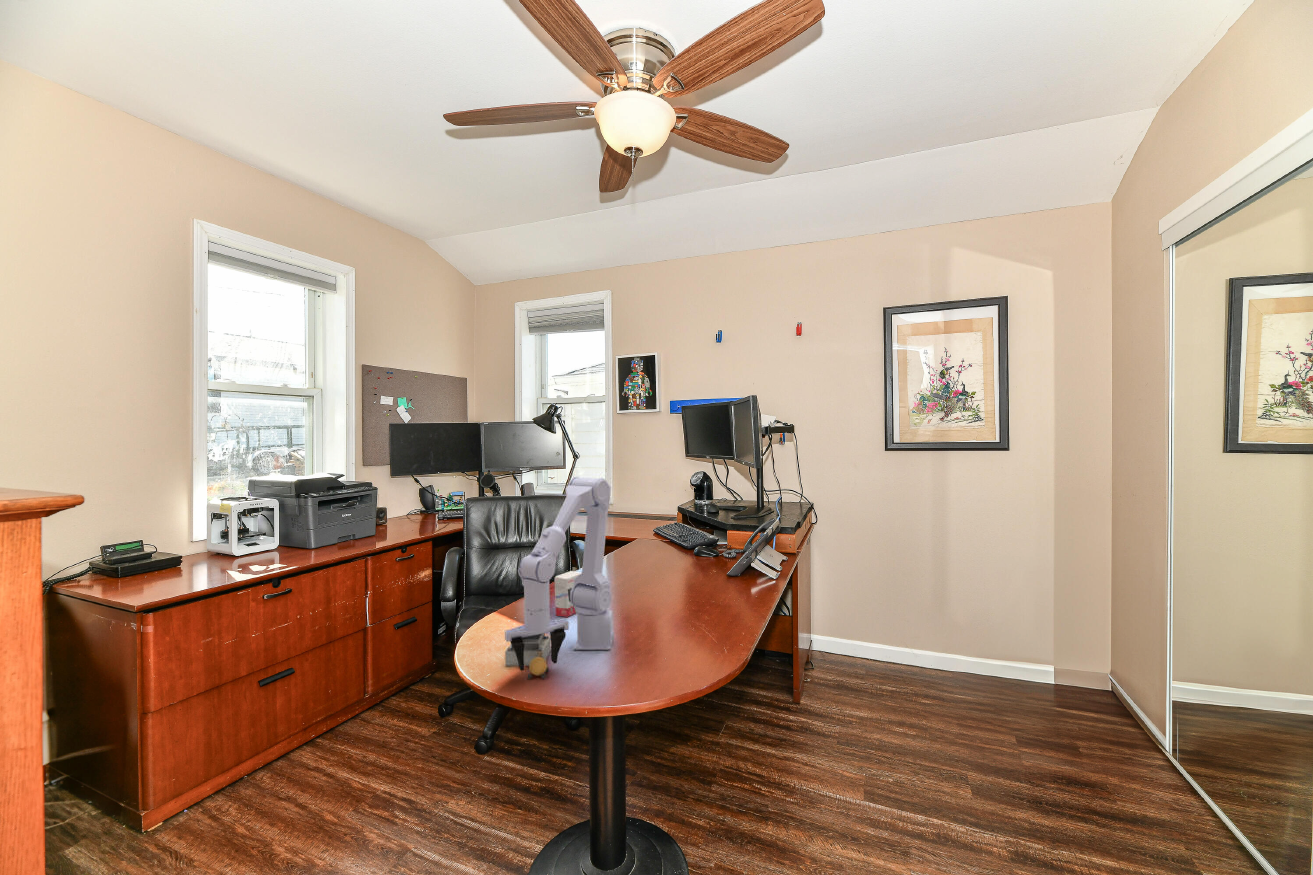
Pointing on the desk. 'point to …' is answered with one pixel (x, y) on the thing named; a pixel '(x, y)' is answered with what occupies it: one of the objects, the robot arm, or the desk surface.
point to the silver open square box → (530, 649)
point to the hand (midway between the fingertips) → (537, 665)
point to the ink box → (564, 593)
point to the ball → (538, 666)
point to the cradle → (541, 675)
